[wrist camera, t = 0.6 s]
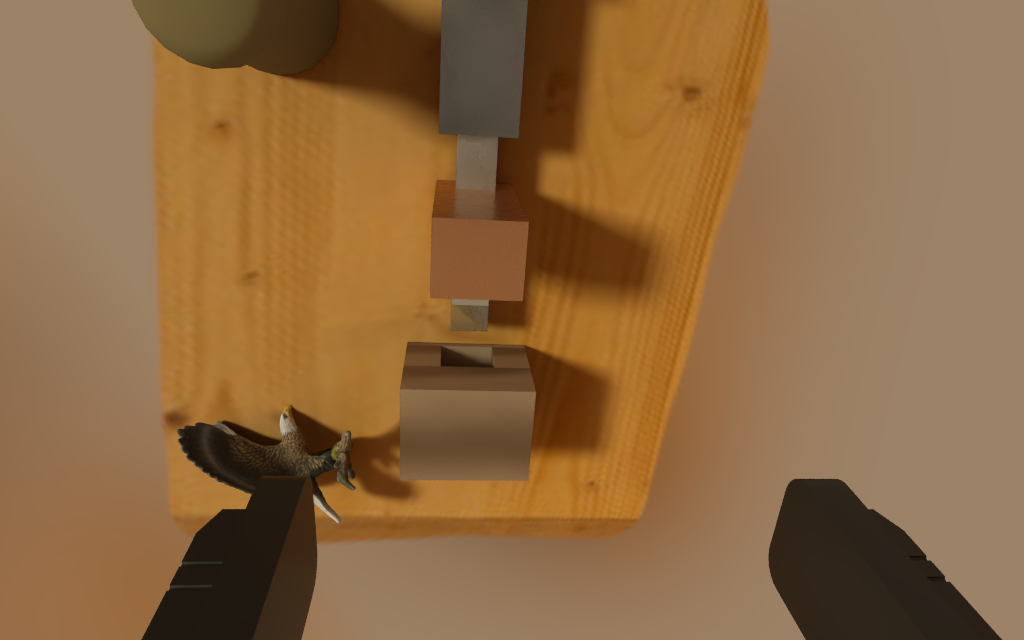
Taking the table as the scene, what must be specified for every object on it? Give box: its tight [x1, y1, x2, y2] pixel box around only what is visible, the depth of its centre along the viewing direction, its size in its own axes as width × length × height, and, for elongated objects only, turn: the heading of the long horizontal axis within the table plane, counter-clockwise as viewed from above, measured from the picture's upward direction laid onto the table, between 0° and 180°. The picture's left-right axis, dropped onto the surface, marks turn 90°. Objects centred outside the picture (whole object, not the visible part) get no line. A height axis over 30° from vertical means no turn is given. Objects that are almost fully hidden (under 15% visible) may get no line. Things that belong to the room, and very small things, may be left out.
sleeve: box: [439, 0, 528, 138], centre depth 31 cm, size 9×5×5 cm, turn 176°
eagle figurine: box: [177, 405, 356, 523], centre depth 38 cm, size 8×7×9 cm
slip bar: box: [430, 135, 529, 331], centre depth 31 cm, size 18×4×9 cm, turn 176°
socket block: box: [400, 342, 536, 481], centre depth 37 cm, size 6×7×6 cm
